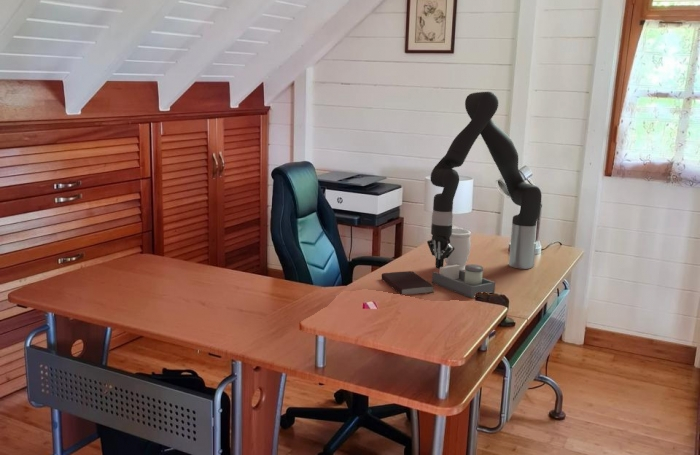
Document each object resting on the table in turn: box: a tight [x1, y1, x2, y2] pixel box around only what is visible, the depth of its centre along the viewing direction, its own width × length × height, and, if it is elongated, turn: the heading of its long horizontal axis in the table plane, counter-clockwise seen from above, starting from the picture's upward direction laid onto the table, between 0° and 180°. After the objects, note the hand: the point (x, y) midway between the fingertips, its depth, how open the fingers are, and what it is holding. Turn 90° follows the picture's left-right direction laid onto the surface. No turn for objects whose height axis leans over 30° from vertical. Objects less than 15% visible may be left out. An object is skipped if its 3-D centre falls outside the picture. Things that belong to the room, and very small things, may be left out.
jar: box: [444, 228, 472, 271], centre depth 264 cm, size 11×10×15 cm
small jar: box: [464, 264, 484, 286], centre depth 236 cm, size 6×6×8 cm
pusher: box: [438, 265, 460, 279], centre depth 246 cm, size 8×2×5 cm, turn 124°
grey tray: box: [431, 270, 496, 299], centre depth 241 cm, size 11×20×4 cm, turn 34°
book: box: [381, 270, 435, 296], centre depth 242 cm, size 12×19×3 cm, turn 18°
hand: (439, 268), depth 251 cm, fingers closed
